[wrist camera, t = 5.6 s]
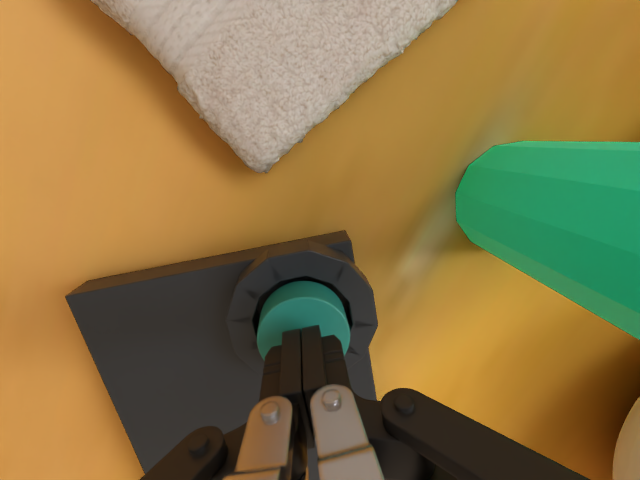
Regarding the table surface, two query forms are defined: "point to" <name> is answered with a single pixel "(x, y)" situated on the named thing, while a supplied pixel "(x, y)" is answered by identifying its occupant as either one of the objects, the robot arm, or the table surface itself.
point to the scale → (209, 336)
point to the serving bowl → (628, 447)
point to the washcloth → (271, 59)
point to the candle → (562, 219)
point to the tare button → (301, 314)
